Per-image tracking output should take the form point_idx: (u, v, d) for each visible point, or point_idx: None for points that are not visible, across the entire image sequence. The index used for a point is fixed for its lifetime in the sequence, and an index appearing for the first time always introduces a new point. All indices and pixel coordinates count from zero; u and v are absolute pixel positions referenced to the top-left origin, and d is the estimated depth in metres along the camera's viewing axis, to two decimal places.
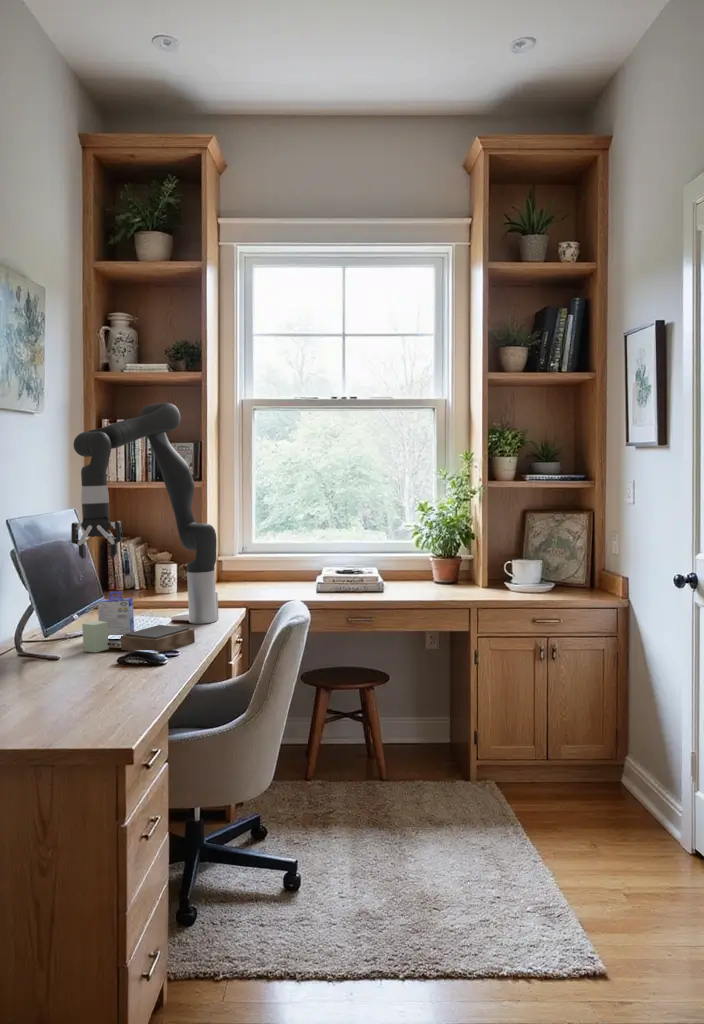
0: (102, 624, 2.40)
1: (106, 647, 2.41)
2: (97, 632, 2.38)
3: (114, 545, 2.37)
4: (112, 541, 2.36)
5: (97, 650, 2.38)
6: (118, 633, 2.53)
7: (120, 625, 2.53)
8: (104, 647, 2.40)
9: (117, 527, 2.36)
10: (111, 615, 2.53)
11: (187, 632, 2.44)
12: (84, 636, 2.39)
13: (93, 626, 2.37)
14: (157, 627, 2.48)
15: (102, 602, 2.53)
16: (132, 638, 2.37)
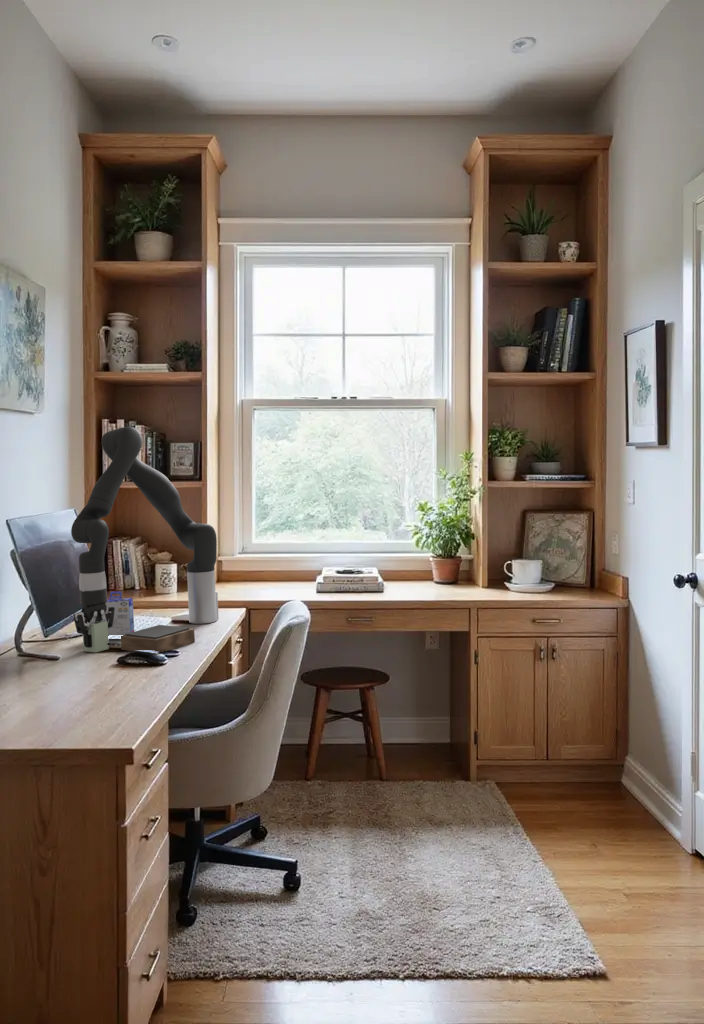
0: (102, 624, 2.40)
1: (106, 647, 2.41)
2: (97, 632, 2.38)
3: None
4: None
5: (97, 650, 2.38)
6: (118, 633, 2.53)
7: (120, 625, 2.53)
8: (104, 647, 2.40)
9: (112, 613, 2.45)
10: None
11: (187, 632, 2.44)
12: None
13: (93, 626, 2.37)
14: (157, 627, 2.48)
15: None
16: (132, 638, 2.37)
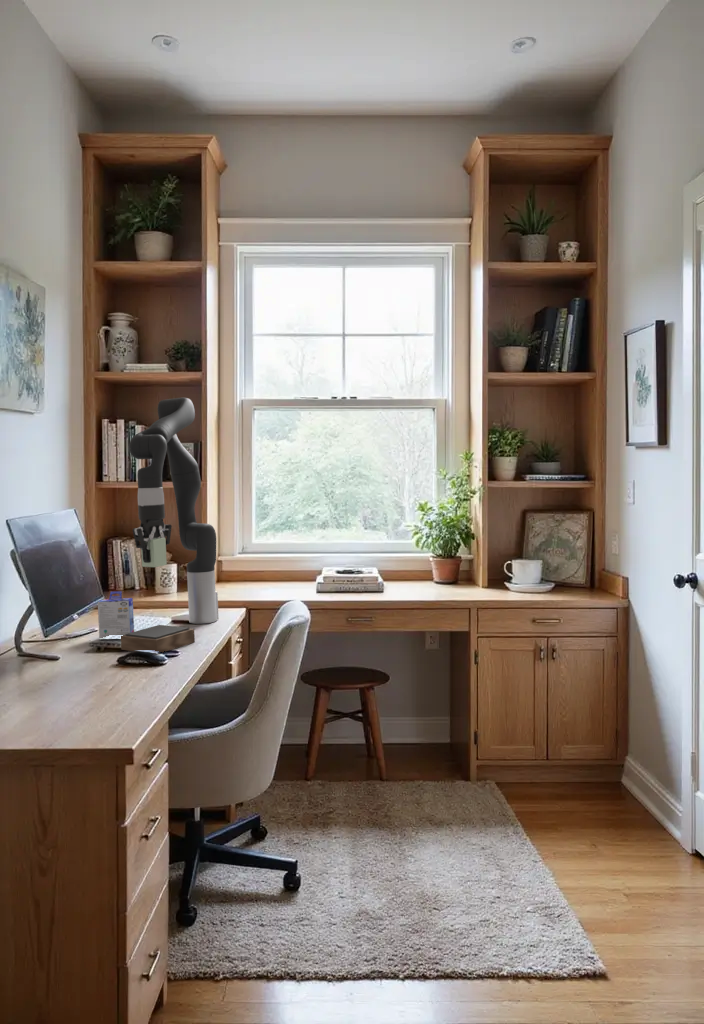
0: (160, 539, 2.40)
1: (164, 563, 2.42)
2: (155, 547, 2.39)
3: None
4: None
5: (156, 565, 2.39)
6: (118, 633, 2.53)
7: (120, 625, 2.53)
8: (162, 562, 2.41)
9: (169, 530, 2.46)
10: (111, 615, 2.53)
11: (187, 632, 2.44)
12: None
13: (152, 541, 2.38)
14: (157, 627, 2.48)
15: (102, 602, 2.53)
16: (132, 638, 2.37)
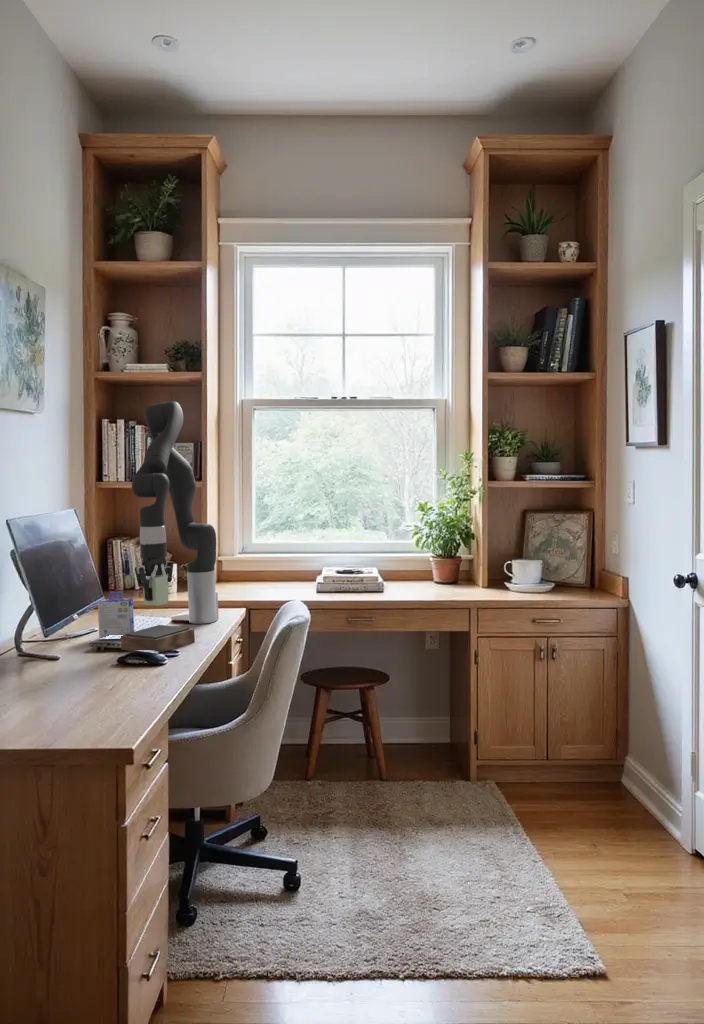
0: (162, 578, 2.41)
1: (166, 601, 2.43)
2: (157, 585, 2.39)
3: None
4: None
5: (158, 603, 2.40)
6: (118, 633, 2.53)
7: (120, 625, 2.53)
8: (164, 600, 2.42)
9: (171, 567, 2.46)
10: (111, 615, 2.53)
11: (187, 632, 2.44)
12: None
13: (154, 579, 2.39)
14: (157, 627, 2.48)
15: (102, 602, 2.53)
16: (132, 638, 2.37)
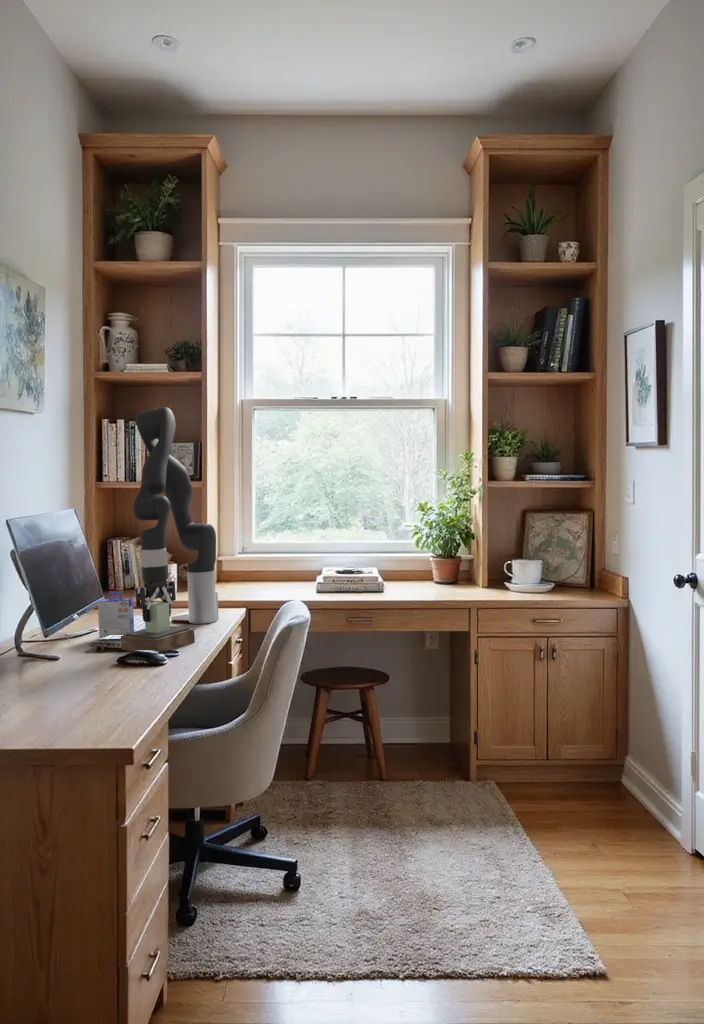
0: (164, 605, 2.42)
1: (167, 628, 2.43)
2: (159, 612, 2.40)
3: (170, 604, 2.46)
4: (170, 601, 2.46)
5: (159, 631, 2.40)
6: (118, 633, 2.53)
7: (120, 625, 2.53)
8: (166, 628, 2.42)
9: (173, 587, 2.47)
10: (111, 615, 2.53)
11: (187, 632, 2.44)
12: None
13: (156, 607, 2.39)
14: None
15: (102, 602, 2.53)
16: (132, 638, 2.37)
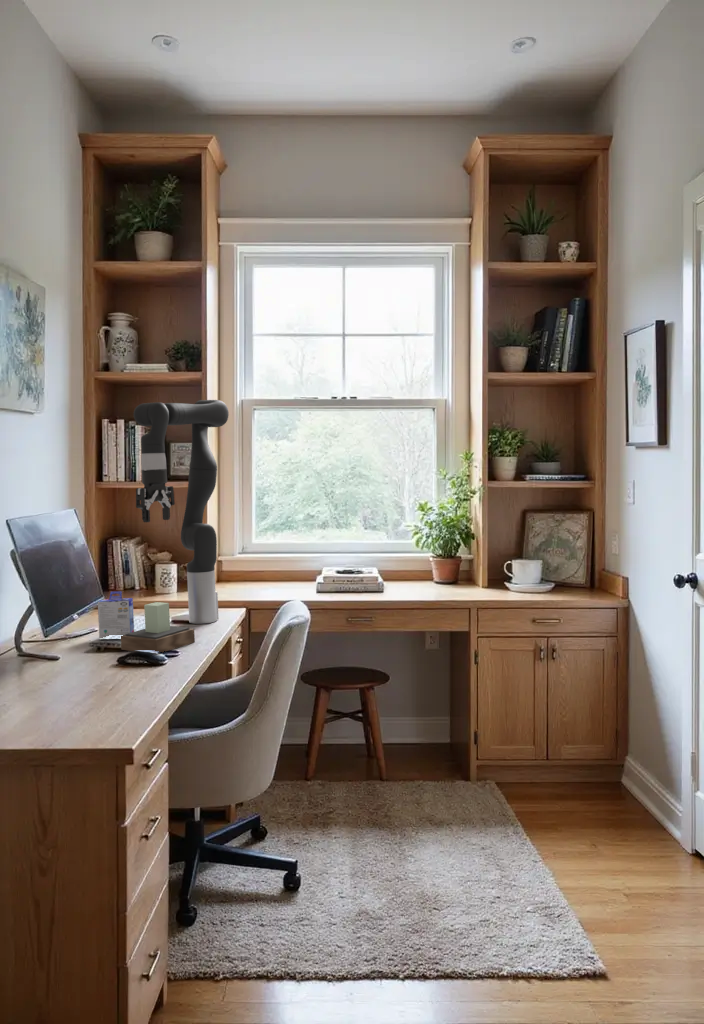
0: (164, 605, 2.42)
1: (167, 628, 2.43)
2: (159, 612, 2.40)
3: (169, 508, 2.57)
4: (169, 504, 2.57)
5: (159, 631, 2.40)
6: (118, 633, 2.53)
7: (120, 625, 2.53)
8: (166, 628, 2.42)
9: (172, 491, 2.58)
10: (111, 615, 2.53)
11: (187, 632, 2.44)
12: (146, 617, 2.41)
13: (156, 607, 2.39)
14: None
15: (102, 602, 2.53)
16: (132, 638, 2.37)
